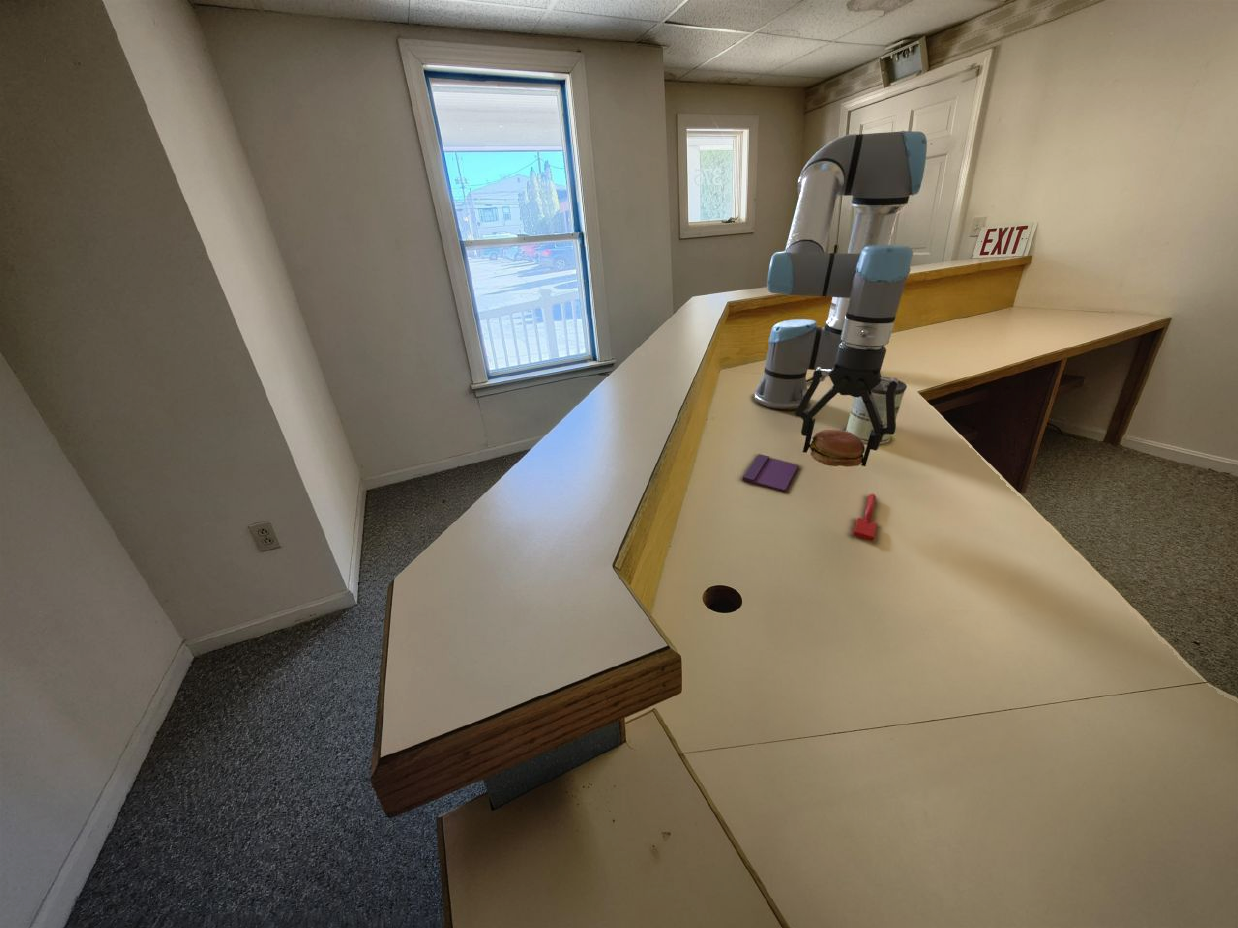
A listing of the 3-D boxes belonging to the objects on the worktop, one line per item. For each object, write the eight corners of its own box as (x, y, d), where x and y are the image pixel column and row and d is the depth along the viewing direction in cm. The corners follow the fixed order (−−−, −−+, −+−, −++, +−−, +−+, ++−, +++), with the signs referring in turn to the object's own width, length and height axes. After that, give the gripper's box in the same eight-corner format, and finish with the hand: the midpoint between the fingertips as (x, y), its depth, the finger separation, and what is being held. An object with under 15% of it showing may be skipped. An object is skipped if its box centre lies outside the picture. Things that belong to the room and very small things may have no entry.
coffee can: (845, 424, 121) (858, 373, 114) (888, 431, 117) (905, 378, 110) (844, 440, 113) (858, 386, 106) (890, 447, 109) (908, 392, 102)
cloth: (758, 456, 106) (758, 453, 106) (798, 466, 102) (798, 463, 102) (742, 480, 97) (742, 477, 97) (784, 491, 93) (785, 488, 93)
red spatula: (863, 495, 92) (864, 490, 91) (880, 499, 90) (882, 494, 90) (853, 535, 80) (854, 530, 80) (873, 541, 79) (874, 536, 78)
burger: (872, 464, 87) (879, 442, 85) (833, 472, 84) (838, 450, 82) (835, 442, 95) (840, 422, 93) (798, 450, 93) (802, 429, 90)
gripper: (791, 340, 81) (771, 450, 92) (939, 358, 71) (897, 480, 82) (800, 332, 87) (780, 436, 97) (939, 347, 76) (900, 462, 87)
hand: (834, 456), depth 90 cm, fingers closed on burger, 10 cm apart
